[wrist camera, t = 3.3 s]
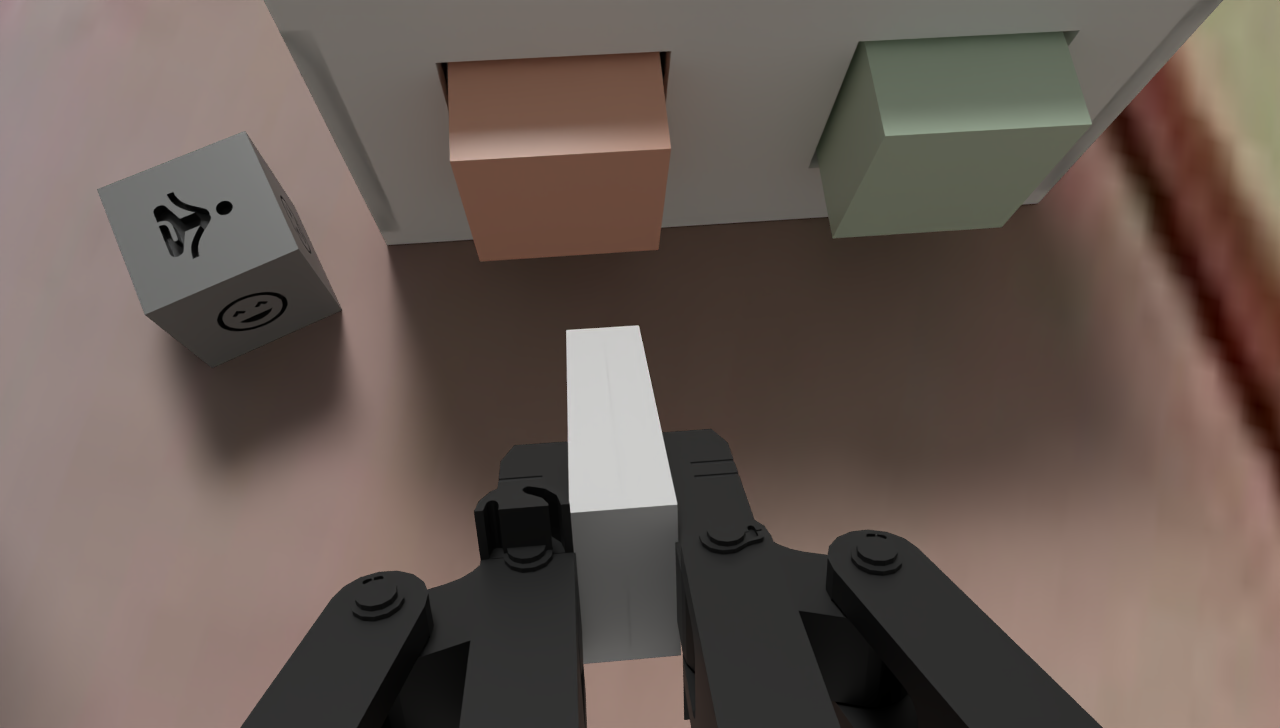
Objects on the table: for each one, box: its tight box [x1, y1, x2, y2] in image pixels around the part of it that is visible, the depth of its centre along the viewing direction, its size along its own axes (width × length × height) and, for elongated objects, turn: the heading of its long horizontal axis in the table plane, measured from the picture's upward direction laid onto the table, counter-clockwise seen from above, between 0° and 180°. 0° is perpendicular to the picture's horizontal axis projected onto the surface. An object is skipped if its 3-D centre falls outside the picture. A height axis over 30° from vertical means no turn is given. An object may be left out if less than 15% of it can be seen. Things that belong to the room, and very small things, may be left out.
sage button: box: [816, 31, 1092, 238], centre depth 28 cm, size 6×7×6 cm
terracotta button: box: [448, 52, 671, 261], centre depth 28 cm, size 6×7×6 cm
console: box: [264, 0, 1223, 245], centre depth 30 cm, size 26×10×13 cm, turn 95°
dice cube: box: [97, 131, 342, 368], centre depth 31 cm, size 5×5×5 cm
